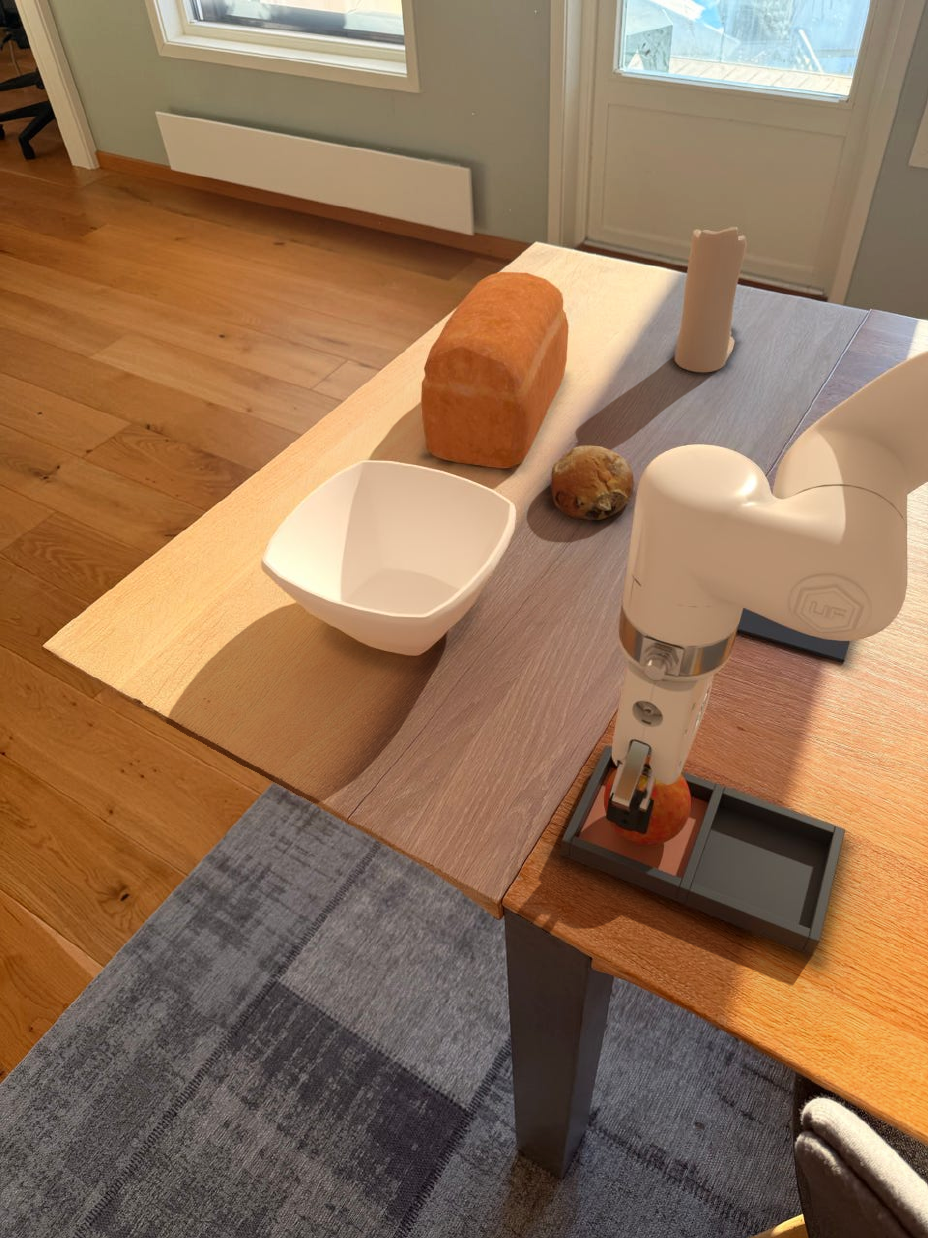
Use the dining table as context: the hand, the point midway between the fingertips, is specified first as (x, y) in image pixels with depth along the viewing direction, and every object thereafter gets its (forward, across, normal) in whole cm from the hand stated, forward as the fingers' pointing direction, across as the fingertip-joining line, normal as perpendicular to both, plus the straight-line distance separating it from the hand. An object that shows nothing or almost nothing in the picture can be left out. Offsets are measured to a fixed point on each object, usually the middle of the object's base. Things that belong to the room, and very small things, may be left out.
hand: (647, 776), depth 72 cm
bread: (+8, +54, +38) cm, 66 cm away
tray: (+7, 0, -5) cm, 9 cm away
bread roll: (+8, +41, +20) cm, 46 cm away
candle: (+8, +81, +17) cm, 83 cm away
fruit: (+7, 0, 0) cm, 7 cm away
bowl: (+8, +14, +31) cm, 35 cm away
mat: (+7, +34, -2) cm, 35 cm away
